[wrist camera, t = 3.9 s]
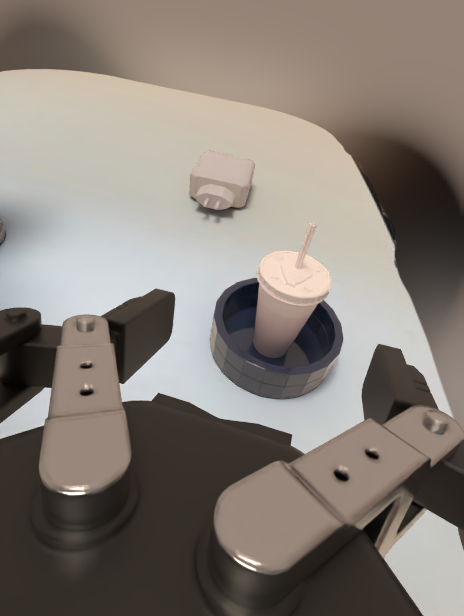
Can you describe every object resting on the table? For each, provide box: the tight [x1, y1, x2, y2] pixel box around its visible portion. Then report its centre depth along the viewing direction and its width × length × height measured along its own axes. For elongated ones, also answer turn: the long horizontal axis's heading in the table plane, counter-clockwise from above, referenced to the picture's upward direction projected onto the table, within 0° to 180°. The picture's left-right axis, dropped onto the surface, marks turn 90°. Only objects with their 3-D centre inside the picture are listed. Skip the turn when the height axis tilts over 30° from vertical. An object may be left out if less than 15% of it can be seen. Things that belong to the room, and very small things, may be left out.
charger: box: [189, 151, 255, 210], centre depth 56 cm, size 5×9×15 cm
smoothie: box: [253, 223, 332, 358], centre depth 31 cm, size 6×6×14 cm
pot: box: [210, 278, 343, 399], centre depth 35 cm, size 13×13×4 cm
